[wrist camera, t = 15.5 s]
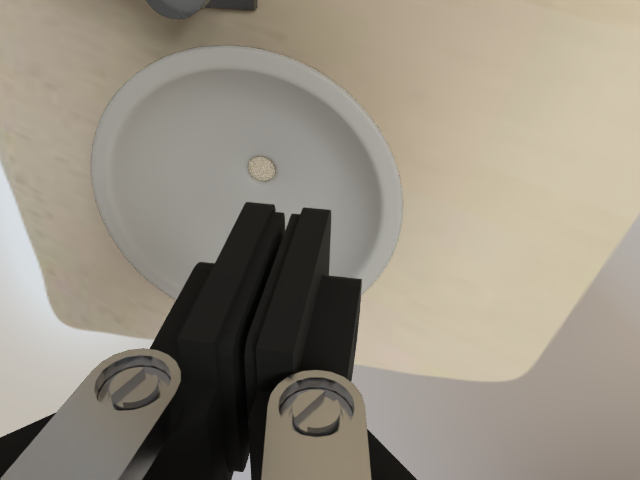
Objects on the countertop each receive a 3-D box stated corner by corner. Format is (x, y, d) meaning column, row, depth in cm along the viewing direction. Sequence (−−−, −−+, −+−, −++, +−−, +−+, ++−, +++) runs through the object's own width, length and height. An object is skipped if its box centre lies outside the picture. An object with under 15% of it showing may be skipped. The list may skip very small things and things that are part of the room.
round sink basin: (225, 311, 60) (206, 357, 55) (68, 105, 50) (25, 137, 45) (451, 228, 52) (454, 274, 46) (315, -41, 41) (299, -24, 36)
